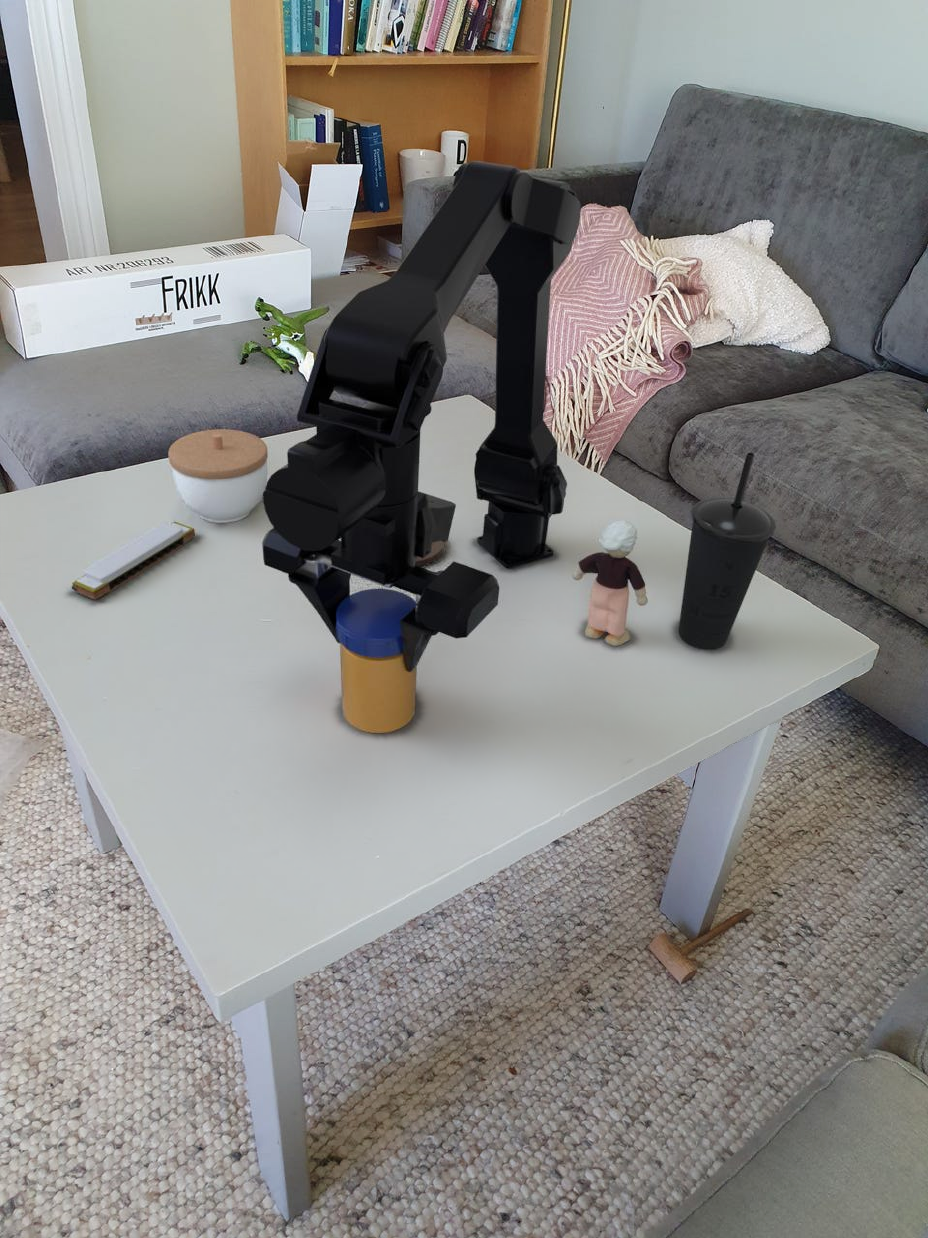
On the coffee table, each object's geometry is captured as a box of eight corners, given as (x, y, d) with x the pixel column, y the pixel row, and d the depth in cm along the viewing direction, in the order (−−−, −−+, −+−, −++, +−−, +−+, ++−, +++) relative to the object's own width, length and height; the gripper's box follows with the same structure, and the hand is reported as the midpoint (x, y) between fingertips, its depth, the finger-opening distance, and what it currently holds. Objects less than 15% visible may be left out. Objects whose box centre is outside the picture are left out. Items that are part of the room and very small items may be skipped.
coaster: (419, 519, 107) (419, 513, 107) (458, 556, 101) (459, 550, 101) (349, 536, 103) (349, 530, 103) (386, 575, 97) (386, 569, 97)
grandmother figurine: (642, 631, 92) (666, 522, 85) (635, 653, 89) (660, 541, 82) (568, 613, 94) (585, 504, 86) (559, 633, 91) (576, 523, 83)
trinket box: (250, 540, 101) (243, 463, 96) (159, 525, 103) (148, 448, 97) (284, 495, 110) (280, 422, 104) (201, 482, 111) (192, 409, 106)
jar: (394, 675, 84) (395, 590, 78) (428, 718, 80) (432, 631, 74) (330, 697, 81) (326, 610, 75) (362, 743, 77) (360, 654, 71)
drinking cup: (655, 613, 95) (696, 434, 83) (726, 613, 96) (776, 436, 84) (675, 659, 89) (722, 473, 77) (751, 658, 89) (808, 475, 78)
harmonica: (174, 530, 102) (172, 514, 101) (196, 538, 101) (193, 522, 100) (72, 592, 91) (68, 575, 90) (95, 602, 90) (91, 585, 89)
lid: (319, 639, 74) (318, 620, 73) (367, 597, 79) (367, 579, 78) (391, 668, 71) (391, 649, 70) (435, 623, 76) (436, 605, 75)
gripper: (540, 481, 70) (519, 644, 79) (338, 420, 76) (340, 576, 86) (470, 543, 62) (456, 717, 71) (251, 469, 68) (264, 636, 77)
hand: (377, 655), depth 76 cm, fingers closed on jar, lid, 6 cm apart
